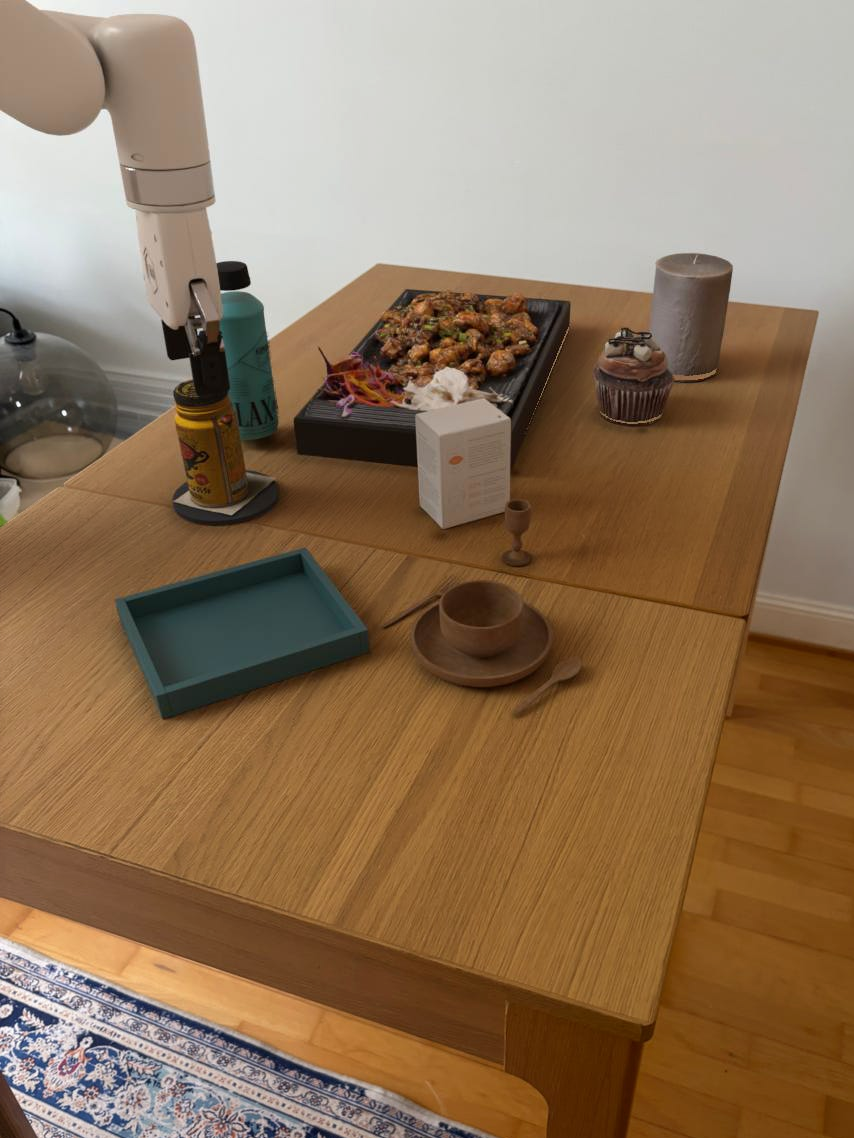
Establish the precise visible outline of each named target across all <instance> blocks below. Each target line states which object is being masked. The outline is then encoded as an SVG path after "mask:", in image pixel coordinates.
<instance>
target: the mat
mask: <svg viewBox="0 0 854 1138" xmlns="http://www.w3.org/2000/svg"><path fill="white" fill-rule="evenodd" d="M246 473H251V474H255V475H261V476H267V477H270V476H269V475H267V474H265V473H262V472H260V471H255V470H251V469H246ZM187 491H189V487H188V482H187V481H185V482H184V483H182V484H181V485H180V486H179V487H178V488H177V489H176V490H175V491H174V493H173V495H172V499H171V500H172V508H173V509H174V512H175V513H176V514H177V515H178V516H179V517H180V518H182V519H183V520H185V521H187V522H190V523H194V524H198V525H203V526H228V525H237V524H240V523H244V522H247V521H251V520H254V519H256V518H259V517H261V516H262V515H265V514H267V512H270V510H272V509H273V508H274V507H275V506H276V504H277V503H278V501H279V499H280V488H279V485H278V482H276V480H274V481H272V482H271V483H270V484H269V485H268V486H267V487H266V488H264V489H263V490H262V491H260V492H259V493H258V494H257V495H256V496H255V497H254V498H253V499H252V500H250V501H249V502H248V503H247V504H246V505H244V506H243V507H242V508H241V509H239V510H238V511H237V512H235V513H234V514H233V515H228V514H224V513H220V512H213V511H209V510H204V509H199V508H195V507H191V506H188V505H184V504H181V503H177V502H173V501H175V500H176V499H178V498H180V496H182V495H184V494H185V493H186V492H187Z"/></svg>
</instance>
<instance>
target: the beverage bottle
mask: <svg viewBox="0 0 854 1138" xmlns="http://www.w3.org/2000/svg"><path fill="white" fill-rule="evenodd" d="M216 264H217V271H218V277H219V284H220V291H221V300H222V313H223V316H222V319H221V321H220V331H221V332H222V334H221V335H222V336H223V338H222V339H223V342H224V347H225V354H226V362H227V369H228V376H229V384H230V390H229V391H228V395H229V398H230V401H231V406H232V407H233V408H234V410H235V411H236V415H237V421H238V427H239V433H240V439H241V441H242V440H243V441H251V440H258V439H263V438H267V437H269V436H271V435H272V434H274V433H275V432H277V430H278V428H279V422H280V420H281V419H280V417H279V416H280V413H279V405H278V398H277V391H276V389H277V388H275V384H276V382H275V378H274V376H273V370H272V369H273V367H272V362H271V359H272V352H271V349H270V348H271V343H270V340H269V339H268V337H269V334H268V332H267V326H266V320H265V319H266V318H265V305H264V303H262V301H261V300H259V299H258V298H257V297H256V296H255V295H253V294H251V293H249V292H247V291H239V290H243V289H246V288H248V287H250V286H251V285H252V281H251V277H250V273H249V268H248V265H247V264H246V263H245V262H242V261H240V260H239V261H238V260H225V261H224V260H223V261H219V262H216ZM222 291H223V292H222Z"/></svg>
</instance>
